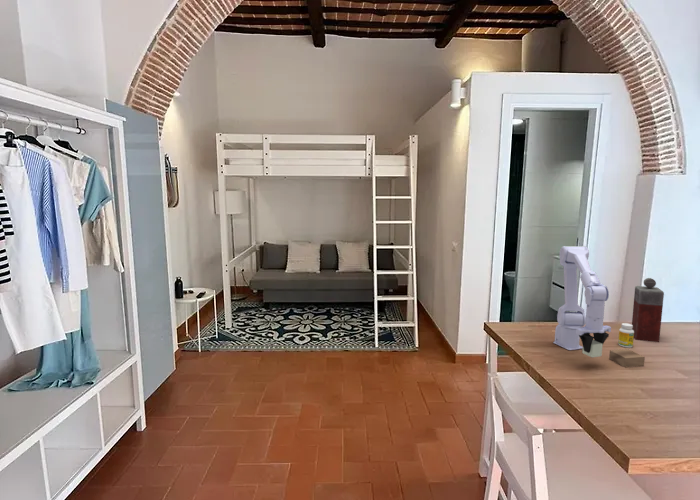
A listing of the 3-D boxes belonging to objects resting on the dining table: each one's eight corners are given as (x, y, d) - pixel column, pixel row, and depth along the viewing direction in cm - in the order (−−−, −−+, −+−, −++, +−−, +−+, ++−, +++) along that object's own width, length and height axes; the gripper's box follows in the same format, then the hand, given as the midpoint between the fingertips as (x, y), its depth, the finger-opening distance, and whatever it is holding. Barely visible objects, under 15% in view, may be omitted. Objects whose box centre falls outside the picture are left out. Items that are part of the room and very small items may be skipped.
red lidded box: (652, 334, 188) (657, 276, 184) (659, 342, 178) (665, 281, 174) (629, 332, 191) (634, 274, 188) (635, 339, 181) (640, 279, 178)
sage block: (582, 353, 155) (583, 340, 154) (591, 351, 156) (592, 339, 155) (592, 357, 150) (593, 344, 150) (601, 356, 151) (602, 343, 151)
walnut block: (609, 359, 160) (609, 350, 160) (627, 358, 161) (627, 349, 161) (624, 368, 152) (625, 358, 152) (643, 366, 153) (644, 356, 153)
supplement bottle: (621, 342, 178) (623, 321, 177) (635, 346, 173) (637, 325, 172) (615, 345, 175) (617, 324, 174) (629, 348, 170) (631, 327, 169)
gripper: (587, 321, 145) (585, 357, 147) (619, 318, 149) (616, 352, 151) (572, 316, 152) (570, 350, 154) (603, 312, 156) (600, 346, 158)
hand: (592, 350), depth 153 cm, fingers closed on sage block, 4 cm apart
